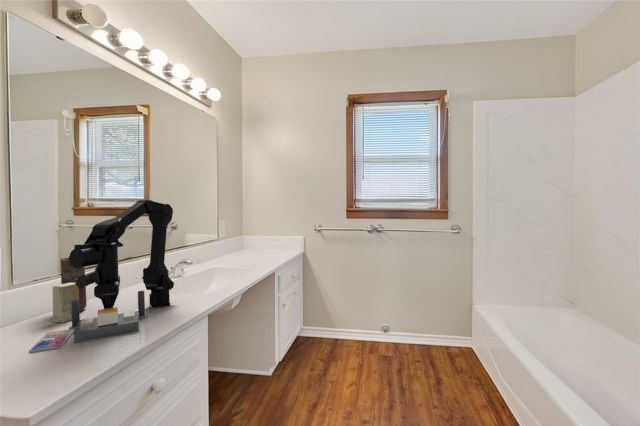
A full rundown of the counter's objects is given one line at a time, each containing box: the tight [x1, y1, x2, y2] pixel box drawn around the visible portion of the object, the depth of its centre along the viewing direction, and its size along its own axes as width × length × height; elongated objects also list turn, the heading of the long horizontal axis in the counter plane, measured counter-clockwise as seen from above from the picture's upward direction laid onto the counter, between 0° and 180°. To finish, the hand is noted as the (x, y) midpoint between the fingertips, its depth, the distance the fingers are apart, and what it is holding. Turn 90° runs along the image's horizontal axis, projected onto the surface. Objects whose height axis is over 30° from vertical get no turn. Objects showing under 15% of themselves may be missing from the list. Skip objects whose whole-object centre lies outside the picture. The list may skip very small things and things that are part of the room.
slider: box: [96, 306, 119, 326], centre depth 97 cm, size 5×3×4 cm, turn 121°
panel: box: [73, 310, 140, 344], centre depth 100 cm, size 16×12×4 cm
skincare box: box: [52, 283, 79, 324], centre depth 110 cm, size 6×4×12 cm
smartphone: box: [28, 328, 75, 354], centre depth 93 cm, size 7×1×15 cm
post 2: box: [137, 290, 149, 320], centre depth 112 cm, size 4×4×9 cm
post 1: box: [68, 299, 81, 329], centre depth 102 cm, size 4×4×9 cm
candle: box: [60, 257, 88, 312], centre depth 119 cm, size 8×7×20 cm
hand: (108, 310), depth 103 cm, fingers open, 9 cm apart
